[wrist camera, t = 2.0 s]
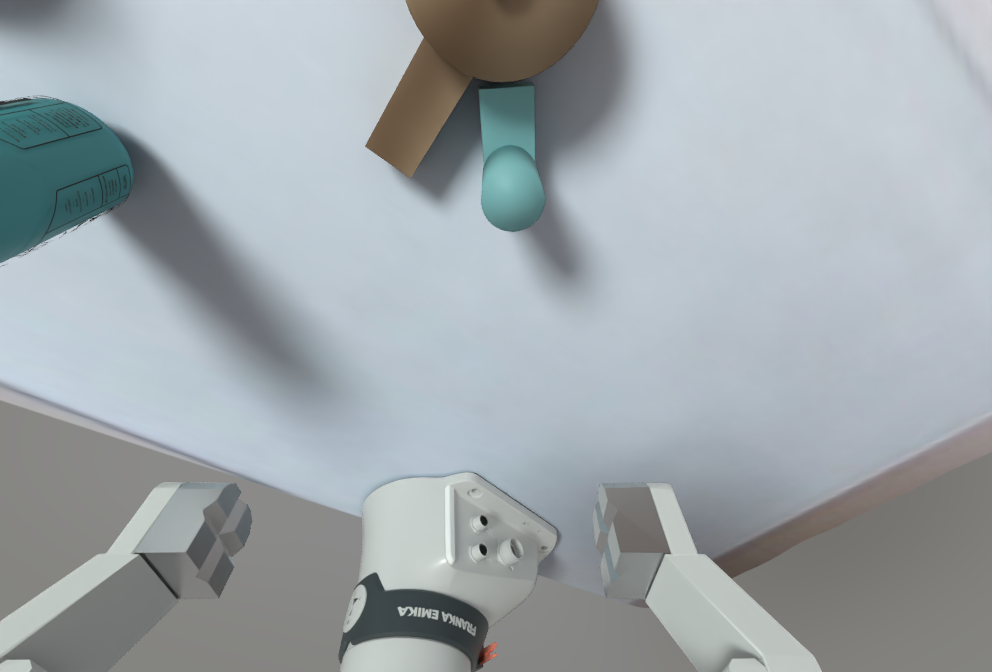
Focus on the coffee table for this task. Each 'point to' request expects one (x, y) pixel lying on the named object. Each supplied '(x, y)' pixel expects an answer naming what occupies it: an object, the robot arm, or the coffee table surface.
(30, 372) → the coffee table surface
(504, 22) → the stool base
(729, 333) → the coffee table surface
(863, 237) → the coffee table surface
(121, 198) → the beverage bottle
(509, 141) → the teal crank handle
